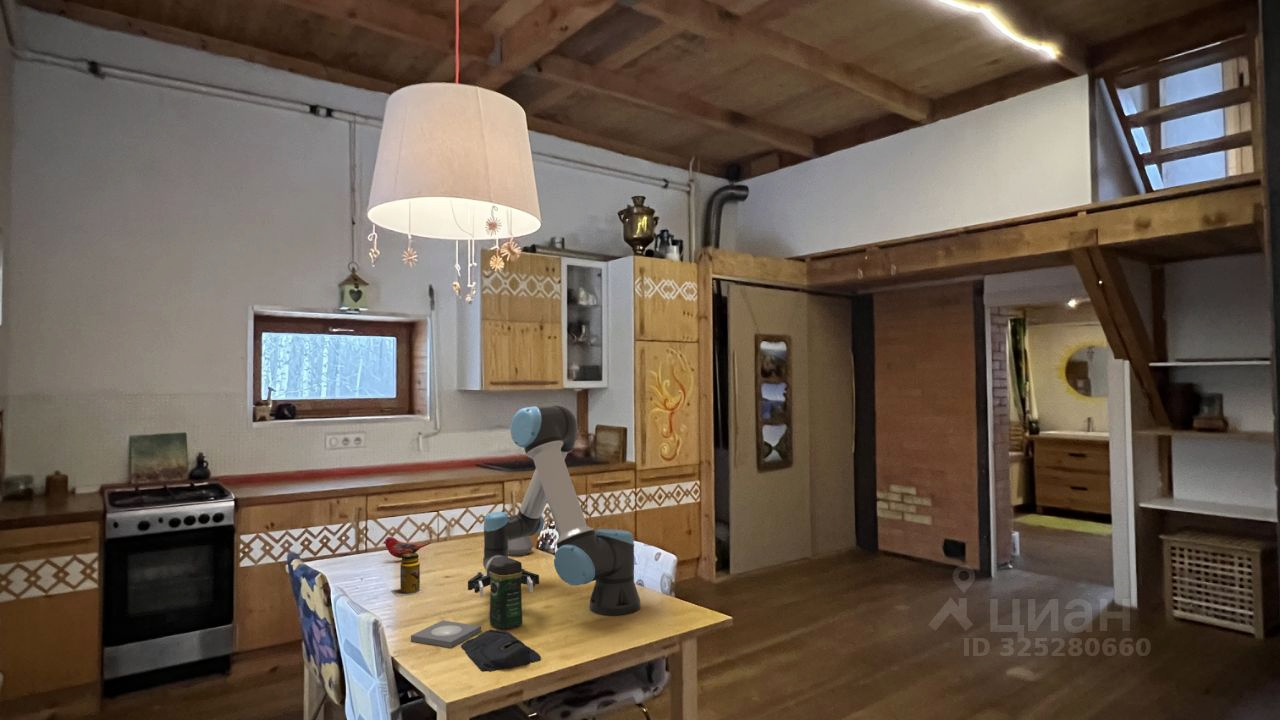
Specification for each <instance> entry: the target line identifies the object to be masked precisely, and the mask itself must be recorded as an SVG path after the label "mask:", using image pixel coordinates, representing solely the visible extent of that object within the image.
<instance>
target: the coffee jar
mask: <svg viewBox="0 0 1280 720" xmlns="http://www.w3.org/2000/svg"><path fill="white" fill-rule="evenodd" d="M522 565H523V564H522V562H521V561H518V560H516V559H513V558H512V557H509V556H508V557H507V556H503V557H496V558H493V560H492V561H491V562H490V569H489V570H490V571H489V572H490V584H491V585H490V590H489V591H490V595H489V596H490V599H489V623H490V624H491V625H492V626H494V627H495V628H498V629H499V630H506V629H511V630H512V629H516V628H517V627H519V626H521V625H522V624H523V604H522V601H523V600H522V584H521V578H522V569H523V566H522Z"/></svg>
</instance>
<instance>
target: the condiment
mask: <svg viewBox="0 0 1280 720" xmlns="http://www.w3.org/2000/svg"><path fill="white" fill-rule="evenodd" d="M419 560H420V559H419V554H418V553H417V552H416V553H406V554H403V555H402V558H401V561H402V562H400V567H399V570H400V584H399V586H400V588H397V589H391V592H392V594H394V595H395V596H396V597H401V596H407V595H414V594H419V593H423V592H424V591H423V589H421V583H420V582H421V581H420V579H421V577H420V576H421V571H420V570H421V569H420V567H421V565H420V561H419Z"/></svg>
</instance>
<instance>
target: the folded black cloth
mask: <svg viewBox="0 0 1280 720" xmlns="http://www.w3.org/2000/svg"><path fill="white" fill-rule="evenodd" d="M460 647H461V649H462V650H463V651H464V652H465V654H466V656H467V657H468V658H469V660H470V661H471V662H472V663H473V664H474V665H475V666H476V667H477V669H479V670H480V672H482V673H484V672H489V673H491V672H495V671H500V670H511V669H514V668H519V667H522V666H527V665H530V664H532V663H535V662H538V661H540V660H541V659H542V657H541V655H540V654H539V653H538V652H537V651H536V650H534V649H532V648H531V647H529V646H528V645H526V644H525V643H524V642H522V641H521V640H520V639H519V638H517V637H515V636H513V634H512V633H511V632H509V631H507V629H488V630H485V631H484V632H481V633H480V634H477V636H475V637H471V638H469V639H467V640H465V642H464V641H463V642H462V644H461V645H460Z"/></svg>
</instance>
